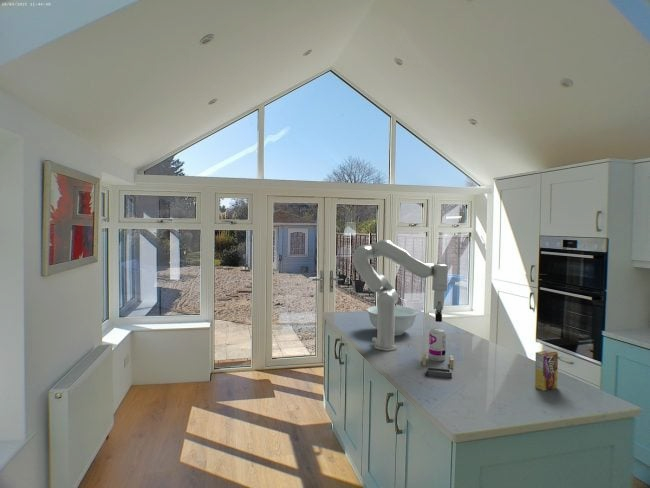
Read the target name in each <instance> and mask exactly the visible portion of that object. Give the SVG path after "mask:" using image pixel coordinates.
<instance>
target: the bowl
mask: <svg viewBox="0 0 650 488" xmlns="http://www.w3.org/2000/svg"><path fill="white" fill-rule="evenodd" d="M394 309H395V331H394V337H395V336H402V335H403V334H404V333H405V332H406V331H407V330H410V329H411V328H412V327H413V326H414V324H415V320H416V316H417V315H419V312H418V311H417V310H416V309H414V308H410V307H407V306H401V305H400V306H399V305H394ZM366 312H367V313H368V317H369V320H370V323H371V324H372V326H373V327H374V328H375V329H377V323H378V310H377V305H373V306H369V307H368V308H366Z"/></svg>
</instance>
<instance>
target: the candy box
mask: <svg viewBox="0 0 650 488" xmlns="http://www.w3.org/2000/svg"><path fill="white" fill-rule="evenodd" d="M558 356H559V352H558V351H554V350H550V349H548V350H541V351H535V361H534V362H535V363H534V364H535V366H534V367H535V368H534V369H535V372H534V373H535V374H534V375H535V379H534V388H536V389H538V390H540V391H548V390H552V389H557V388H558V375H559V374H558V369H559V368H558V367H559V365H558V363H559V362H558V358H559V357H558Z"/></svg>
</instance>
